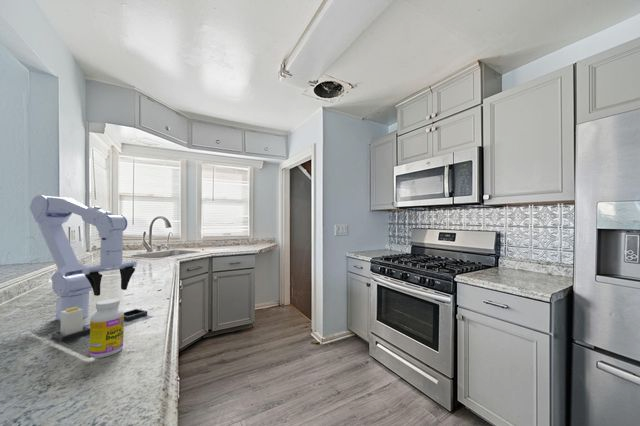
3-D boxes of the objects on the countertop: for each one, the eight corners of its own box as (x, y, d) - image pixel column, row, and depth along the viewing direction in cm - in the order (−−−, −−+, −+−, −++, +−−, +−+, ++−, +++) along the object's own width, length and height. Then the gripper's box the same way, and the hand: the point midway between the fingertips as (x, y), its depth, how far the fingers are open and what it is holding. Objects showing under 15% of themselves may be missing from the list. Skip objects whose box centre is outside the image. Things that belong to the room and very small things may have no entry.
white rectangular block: (60, 336, 73) (60, 309, 73) (76, 331, 76) (77, 305, 76) (66, 339, 71) (66, 310, 72) (82, 333, 75) (83, 307, 75)
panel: (45, 337, 74) (45, 330, 74) (130, 312, 94) (130, 307, 94) (68, 347, 68) (68, 340, 68) (154, 318, 88) (154, 312, 88)
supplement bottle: (104, 360, 62) (105, 306, 62) (82, 357, 63) (83, 304, 63) (129, 347, 68) (130, 298, 69) (109, 344, 69) (110, 296, 70)
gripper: (90, 254, 78) (90, 299, 77) (141, 249, 91) (141, 288, 90) (79, 253, 81) (78, 296, 80) (130, 248, 94) (129, 286, 93)
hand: (111, 292), depth 85 cm, fingers open, 7 cm apart
